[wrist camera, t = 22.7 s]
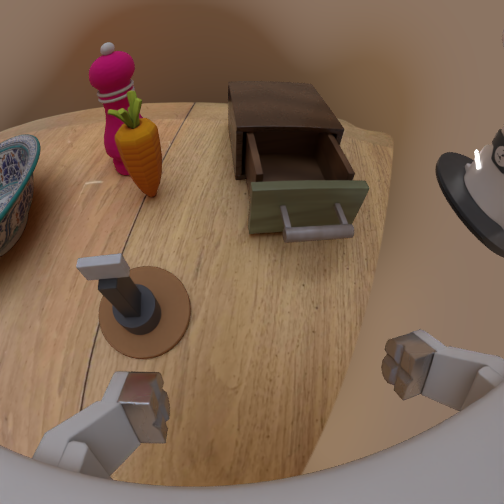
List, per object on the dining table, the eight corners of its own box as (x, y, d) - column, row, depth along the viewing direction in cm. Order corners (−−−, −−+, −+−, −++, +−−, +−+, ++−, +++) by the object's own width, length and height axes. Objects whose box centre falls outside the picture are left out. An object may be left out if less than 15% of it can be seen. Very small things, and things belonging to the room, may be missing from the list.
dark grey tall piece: (161, 292, 27) (129, 230, 18) (162, 334, 25) (123, 287, 16) (121, 295, 27) (77, 237, 18) (120, 335, 24) (67, 291, 15)
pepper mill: (133, 183, 36) (98, 52, 19) (104, 170, 38) (68, 56, 21) (166, 155, 40) (147, 32, 23) (135, 144, 41) (112, 35, 24)
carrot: (155, 215, 33) (126, 110, 21) (128, 203, 34) (94, 106, 21) (178, 189, 36) (160, 87, 23) (150, 179, 37) (128, 84, 24)
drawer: (361, 256, 30) (385, 219, 25) (254, 267, 29) (258, 226, 23) (319, 157, 40) (329, 120, 34) (237, 158, 38) (238, 118, 33)
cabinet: (329, 177, 39) (344, 129, 31) (235, 180, 37) (236, 127, 30) (303, 124, 46) (311, 83, 39) (228, 125, 45) (228, 81, 38)
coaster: (189, 265, 30) (188, 262, 29) (193, 357, 24) (192, 356, 24) (105, 271, 29) (103, 269, 28) (98, 358, 23) (96, 357, 23)
